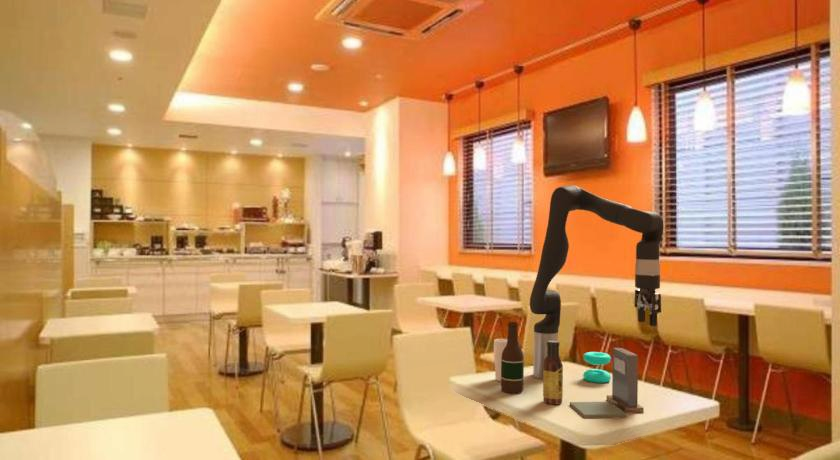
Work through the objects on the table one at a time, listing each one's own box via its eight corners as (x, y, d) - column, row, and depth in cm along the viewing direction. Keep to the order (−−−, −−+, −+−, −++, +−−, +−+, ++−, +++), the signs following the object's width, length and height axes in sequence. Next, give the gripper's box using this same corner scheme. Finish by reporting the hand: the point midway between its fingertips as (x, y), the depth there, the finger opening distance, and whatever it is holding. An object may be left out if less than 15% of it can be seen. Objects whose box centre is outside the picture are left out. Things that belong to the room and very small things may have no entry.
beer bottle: (509, 386, 211) (510, 319, 211) (528, 391, 205) (528, 322, 205) (496, 390, 205) (497, 322, 205) (514, 395, 200) (515, 324, 200)
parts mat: (569, 405, 189) (569, 402, 189) (608, 404, 190) (608, 401, 190) (584, 417, 176) (584, 414, 176) (626, 417, 177) (626, 414, 177)
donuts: (609, 352, 226) (612, 357, 216) (609, 378, 226) (611, 384, 216) (582, 350, 228) (584, 355, 219) (582, 376, 228) (583, 382, 219)
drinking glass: (512, 382, 217) (513, 342, 217) (494, 382, 217) (494, 341, 217) (510, 378, 224) (510, 338, 224) (492, 377, 224) (492, 338, 224)
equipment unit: (606, 399, 196) (607, 347, 196) (623, 399, 196) (624, 347, 196) (624, 412, 182) (625, 356, 182) (643, 412, 182) (644, 356, 182)
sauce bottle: (562, 405, 188) (563, 343, 188) (542, 404, 190) (543, 342, 190) (562, 400, 195) (562, 340, 195) (542, 398, 196) (543, 339, 196)
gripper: (627, 272, 197) (626, 320, 196) (645, 274, 182) (645, 327, 182) (649, 272, 197) (648, 320, 197) (669, 275, 183) (669, 327, 183)
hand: (647, 323), depth 189 cm, fingers open, 8 cm apart
